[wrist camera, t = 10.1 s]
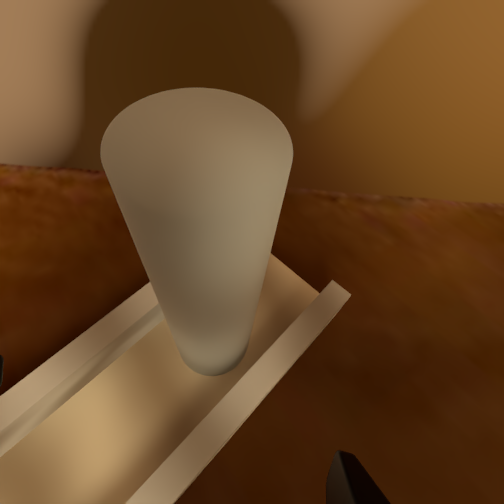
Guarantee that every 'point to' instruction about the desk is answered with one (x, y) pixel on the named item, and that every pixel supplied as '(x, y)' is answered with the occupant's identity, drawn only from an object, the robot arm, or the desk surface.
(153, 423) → the sliding track
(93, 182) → the desk surface
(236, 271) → the beige piece
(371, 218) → the desk surface
